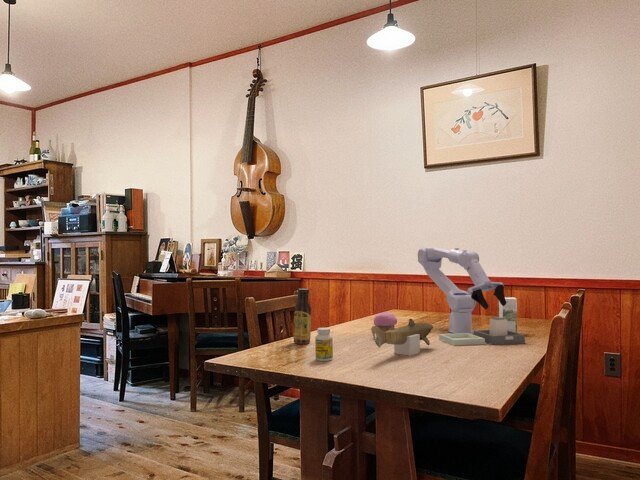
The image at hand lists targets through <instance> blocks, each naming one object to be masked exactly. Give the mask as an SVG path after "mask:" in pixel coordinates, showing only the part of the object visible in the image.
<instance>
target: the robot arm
mask: <svg viewBox="0 0 640 480" xmlns="http://www.w3.org/2000/svg"><path fill="white" fill-rule="evenodd" d="M443 258H445V259H447V260H448V261H449V263H454V264H457V265H459V266H460V267H462V268H463V269H464V270H466V272H467V274H468V275H469V277H470V279H471V281H472V283H473V285H474V286H471V287H468V288H467V290H462V289H460V288H459V287H458V286H457V285H456V284H455V283H454V282H453V281H452V280H451V279H450V277H447V275H445V273H444V272H443V271H442V270H441V267H442V260H443ZM417 262H418V263H419V264H420V265H421V266H422V268H423V270H424V271H425V273H426V275H427V276H428V277H429V278H430V279H431V280H432V281H433V282H434V284H436V286H437V287H438V288H439V289H440V290H441V291H442V292H443V293H444V294H445V295H446V298H445V302H447V304H448V307H449V308H450V310H451V312H450V314H449V318H448V319H449V329H447V332H449V333H451V334H459V333H469V334H472V335H474V331H473V330H472V329H473V328H472V327H473V326H472V324H473V323H472V321H473V320H472V319H473V318H472V312H474V309H475V307H476V306H477V303H478V304H479V305H480V306H481V307H482V308H483V310H488V308H489V307H490V306H489V303H488V302H487V300H486V298H485V296H484V294H483V293H485V292H488V291H492V290H494V292H493V296H495V297H496V299H497V300H498V302H499V301H500V303H501V305H502V306H505V305H506V300H505V297H506V295H505V290H504V289H505V285H504V283H503V282H502V281H500V282H499V281H498V282H497V281H491V280H490V279H489V277H488V275H487V274H486V272H485V269H483V267H482V265H481V263H480V257H479V253H477V252H476V251H468V250H466V249H460V248H459V247H454V248H451V249H450V250H449V249H446V248H443V247H420V248H419V249H418V251H417Z"/></svg>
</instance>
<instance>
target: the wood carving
mask: <svg viewBox="0 0 640 480" xmlns="http://www.w3.org/2000/svg"><path fill="white" fill-rule="evenodd" d="M390 327H391V329H390V330H388V331H386V332H383V331H382V330H381V329H380V328H379V327H377V326H375V325H372V326H371V329H370V330H371V333H372V336H373V340H374V343H375V345H376V346H377V348H381V347H382V346H383V345H385V344H386V345H387V344H388V345H393V347H394V349H393V350H394V351H393V353H394V354H396V353H397V354H398V355H404V356H409V357H410V356H413V355H417V354H420V353H421V343H420V342H421V341H424V342H425V344H426V346H427V345H428V346H429V345H430V344H431V343H430V340H429V339H428V338H427V336H428V335H430V334H431V332H432V330H433V328H434V326H433V325H432V323H431V324H430V323H427V322H417V323H416V322H415V321H414V319H413V318H408V324H407V325H403V326H399V327H395V326H394V327H393V326H390Z"/></svg>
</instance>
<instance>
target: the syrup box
mask: <svg viewBox="0 0 640 480" xmlns="http://www.w3.org/2000/svg"><path fill="white" fill-rule="evenodd" d="M505 300H506V305H505V306H502V305H501V303H500V301H499V300H498V317H502V318H504V319H506V320H507V330H509V331H513V332H516V333H518V299H517V298H516V297H514V296H512V297H510V296H505Z"/></svg>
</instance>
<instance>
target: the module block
mask: <svg viewBox="0 0 640 480" xmlns="http://www.w3.org/2000/svg"><path fill="white" fill-rule="evenodd" d="M489 330H490V335H493V336H497V335H507V320H506V319H504V318H502V317H499V316H495V317H494V316H492V318H489Z"/></svg>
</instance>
